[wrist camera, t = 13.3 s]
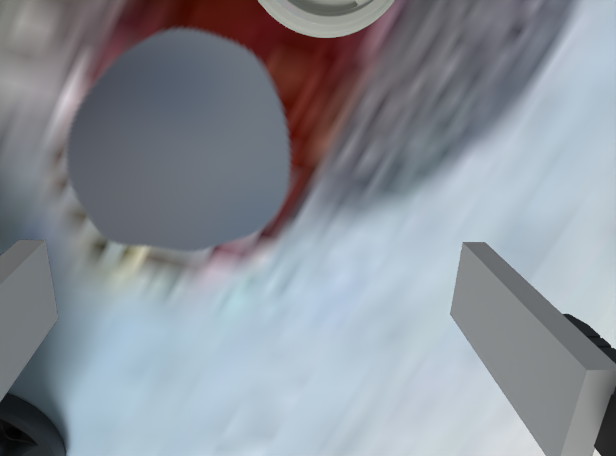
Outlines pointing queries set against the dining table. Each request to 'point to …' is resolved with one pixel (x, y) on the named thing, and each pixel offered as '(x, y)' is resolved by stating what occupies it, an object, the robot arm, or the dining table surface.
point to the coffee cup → (326, 15)
